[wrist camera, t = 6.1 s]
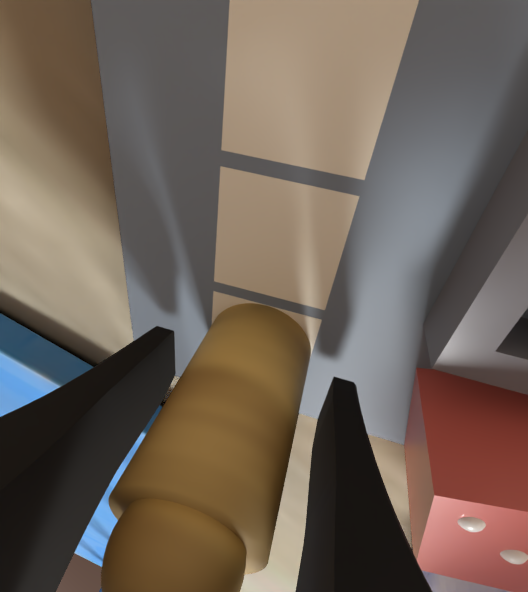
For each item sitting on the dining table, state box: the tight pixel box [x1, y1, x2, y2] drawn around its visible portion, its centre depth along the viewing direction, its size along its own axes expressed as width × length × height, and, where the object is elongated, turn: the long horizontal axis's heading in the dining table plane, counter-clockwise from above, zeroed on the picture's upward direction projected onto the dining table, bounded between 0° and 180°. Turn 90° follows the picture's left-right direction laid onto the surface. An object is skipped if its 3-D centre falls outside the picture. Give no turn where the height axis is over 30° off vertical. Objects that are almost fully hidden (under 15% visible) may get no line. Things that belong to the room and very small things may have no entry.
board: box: [91, 0, 528, 445], centre depth 8 cm, size 18×16×1 cm
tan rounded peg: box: [101, 303, 311, 592], centre depth 9 cm, size 4×4×8 cm
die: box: [404, 368, 528, 592], centre depth 10 cm, size 4×4×4 cm
